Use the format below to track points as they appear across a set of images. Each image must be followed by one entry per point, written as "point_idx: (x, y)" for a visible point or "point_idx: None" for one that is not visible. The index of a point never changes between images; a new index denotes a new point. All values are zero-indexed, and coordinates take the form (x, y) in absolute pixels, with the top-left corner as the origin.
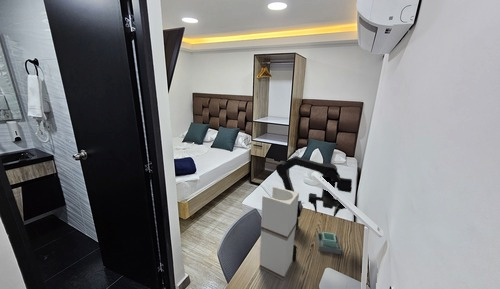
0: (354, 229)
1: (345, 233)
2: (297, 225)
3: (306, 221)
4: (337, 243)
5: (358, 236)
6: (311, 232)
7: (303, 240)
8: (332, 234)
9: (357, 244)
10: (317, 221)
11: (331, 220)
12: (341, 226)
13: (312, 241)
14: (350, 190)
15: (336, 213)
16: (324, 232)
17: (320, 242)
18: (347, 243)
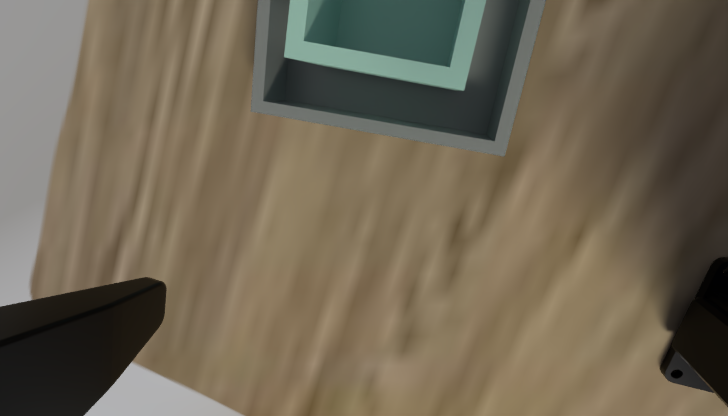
0: (76, 276)
1: (166, 216)
2: (720, 309)
3: (526, 396)
4: (286, 24)
5: (60, 179)
6: (533, 216)
7: (708, 54)
8: (319, 44)
9: (89, 57)
10: (399, 391)
11: (252, 399)
12: (180, 316)
13: (583, 48)
14: None
15: (1, 310)
16: (435, 70)
17: (483, 38)
18: (180, 61)
